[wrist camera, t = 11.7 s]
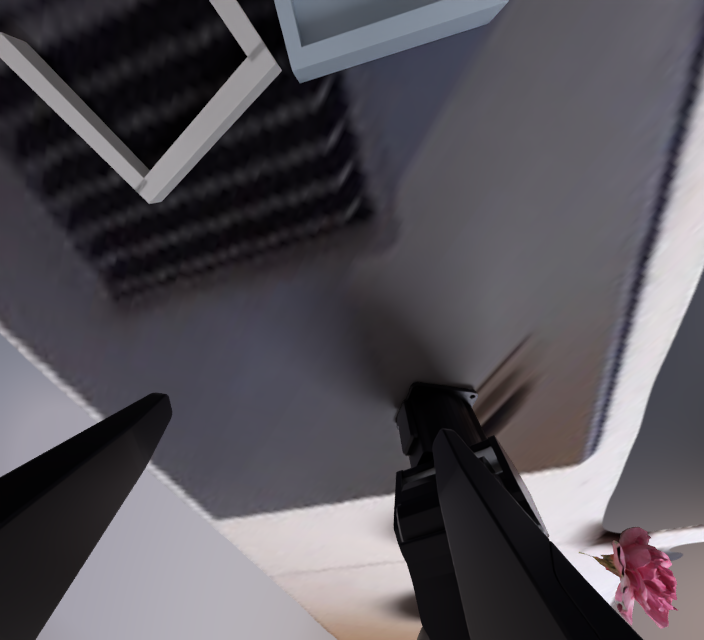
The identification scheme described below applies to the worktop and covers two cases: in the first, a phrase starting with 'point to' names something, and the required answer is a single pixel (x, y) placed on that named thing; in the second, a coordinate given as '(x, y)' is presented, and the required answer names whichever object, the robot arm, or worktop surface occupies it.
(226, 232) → the worktop surface
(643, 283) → the worktop surface
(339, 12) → the tray
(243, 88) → the frame
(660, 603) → the flower
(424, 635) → the bowl of black rocks
